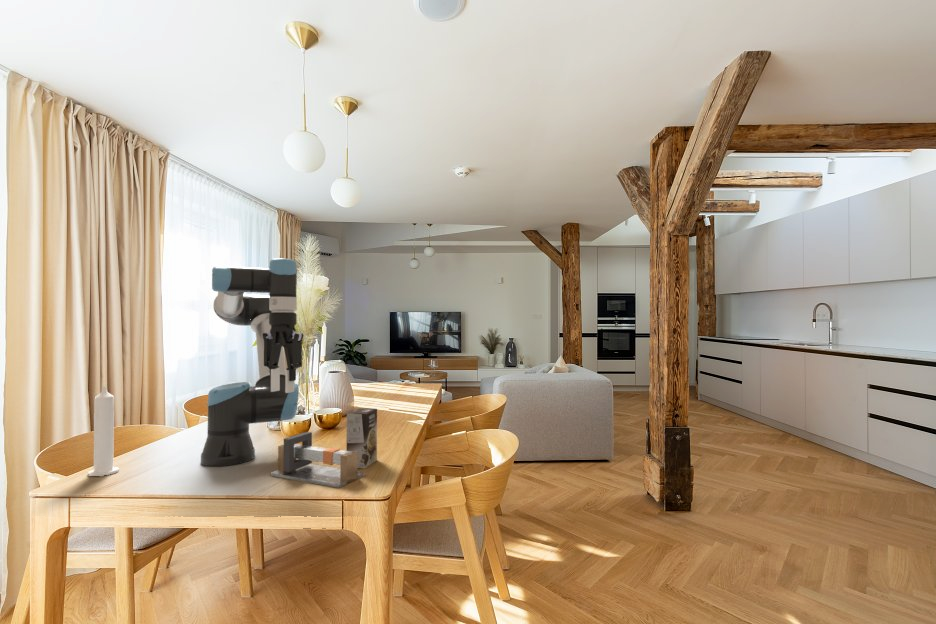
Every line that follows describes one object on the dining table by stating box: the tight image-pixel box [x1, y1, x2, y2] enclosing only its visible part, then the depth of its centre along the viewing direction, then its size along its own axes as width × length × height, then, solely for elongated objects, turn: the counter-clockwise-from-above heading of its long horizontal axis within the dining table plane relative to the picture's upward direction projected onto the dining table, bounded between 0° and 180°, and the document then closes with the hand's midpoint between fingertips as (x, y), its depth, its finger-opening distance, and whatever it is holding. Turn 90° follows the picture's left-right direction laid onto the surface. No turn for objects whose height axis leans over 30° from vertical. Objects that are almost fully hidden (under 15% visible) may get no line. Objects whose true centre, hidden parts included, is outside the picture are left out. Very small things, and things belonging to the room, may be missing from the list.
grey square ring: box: [283, 431, 313, 472], centre depth 140 cm, size 2×9×9 cm, turn 156°
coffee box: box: [345, 407, 378, 469], centre depth 148 cm, size 9×6×16 cm
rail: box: [269, 443, 365, 489], centre depth 137 cm, size 24×11×8 cm, turn 66°
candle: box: [87, 384, 120, 477], centre depth 139 cm, size 7×7×25 cm
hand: (282, 391), depth 142 cm, fingers open, 5 cm apart
